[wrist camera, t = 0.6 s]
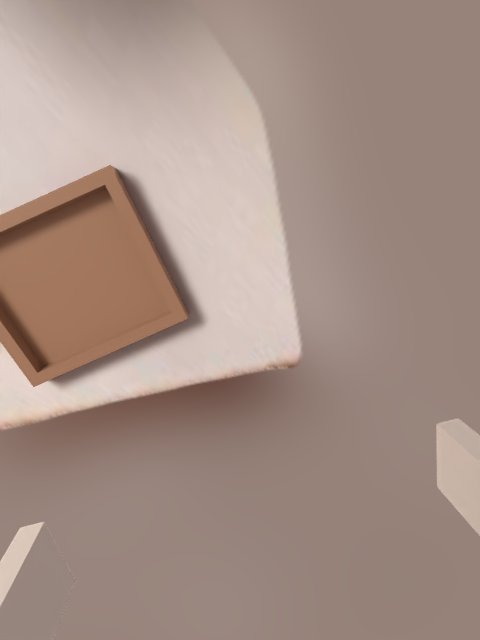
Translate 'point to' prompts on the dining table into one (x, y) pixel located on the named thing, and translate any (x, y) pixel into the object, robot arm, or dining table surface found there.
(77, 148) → the dining table surface
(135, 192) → the dining table surface
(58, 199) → the serving tray
